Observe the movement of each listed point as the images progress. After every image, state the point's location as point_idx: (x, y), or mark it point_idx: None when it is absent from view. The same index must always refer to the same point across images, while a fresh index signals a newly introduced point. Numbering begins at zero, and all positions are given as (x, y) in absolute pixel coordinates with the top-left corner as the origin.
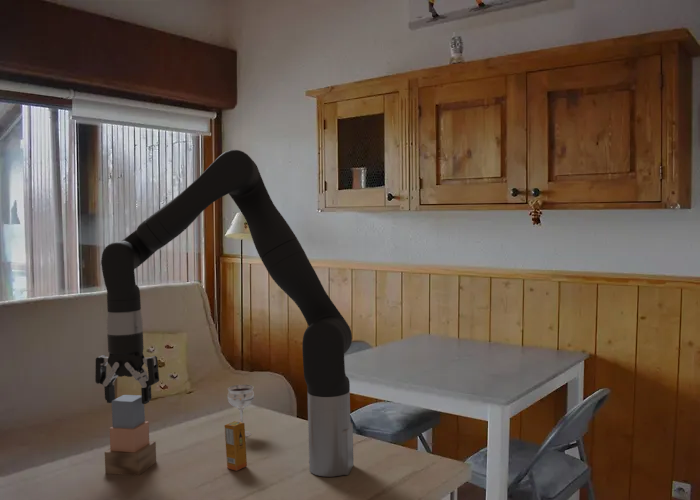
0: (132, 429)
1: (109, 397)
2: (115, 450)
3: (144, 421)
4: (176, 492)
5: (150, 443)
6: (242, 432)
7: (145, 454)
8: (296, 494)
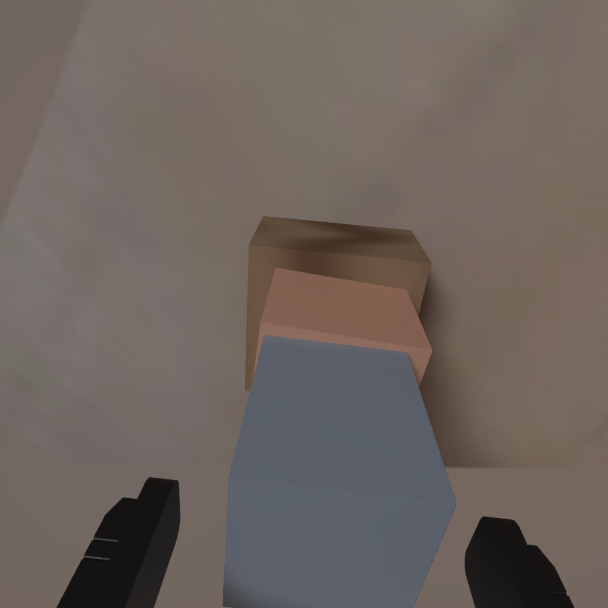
0: None
1: (162, 576)
2: None
3: (406, 356)
4: (537, 458)
5: (413, 293)
6: None
7: None
8: None
